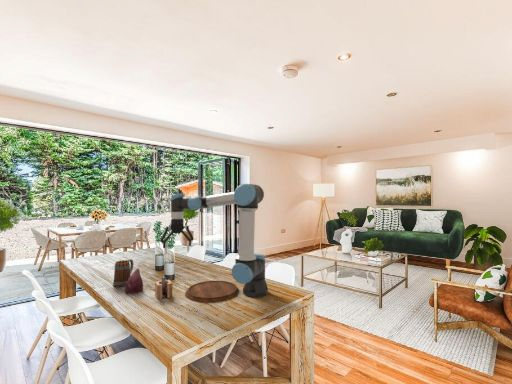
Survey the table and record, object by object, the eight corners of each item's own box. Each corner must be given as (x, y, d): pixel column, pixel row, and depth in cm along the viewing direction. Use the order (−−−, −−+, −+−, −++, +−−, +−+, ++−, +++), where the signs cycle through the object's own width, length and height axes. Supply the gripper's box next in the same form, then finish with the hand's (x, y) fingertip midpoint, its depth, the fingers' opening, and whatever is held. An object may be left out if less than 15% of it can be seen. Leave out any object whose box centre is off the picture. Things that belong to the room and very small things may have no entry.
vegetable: (137, 292, 170) (141, 268, 175) (145, 293, 164) (149, 268, 168) (121, 292, 163) (125, 267, 167) (128, 294, 156) (133, 267, 161)
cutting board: (230, 281, 182) (230, 277, 182) (246, 298, 153) (246, 293, 153) (182, 287, 171) (182, 283, 171) (188, 307, 141) (188, 302, 141)
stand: (167, 296, 155) (167, 277, 155) (160, 297, 153) (160, 278, 153) (166, 294, 158) (166, 275, 158) (159, 295, 156) (159, 276, 156)
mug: (123, 287, 170) (123, 264, 170) (109, 286, 172) (109, 263, 172) (139, 280, 185) (139, 258, 185) (125, 279, 187) (125, 257, 187)
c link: (172, 297, 154) (172, 283, 154) (157, 299, 150) (157, 285, 150) (169, 292, 161) (169, 279, 161) (155, 295, 157) (155, 281, 157)
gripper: (195, 217, 176) (195, 249, 176) (155, 218, 165) (155, 253, 165) (198, 218, 170) (198, 251, 169) (157, 219, 158) (156, 255, 158)
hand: (177, 252), depth 167 cm, fingers open, 13 cm apart
